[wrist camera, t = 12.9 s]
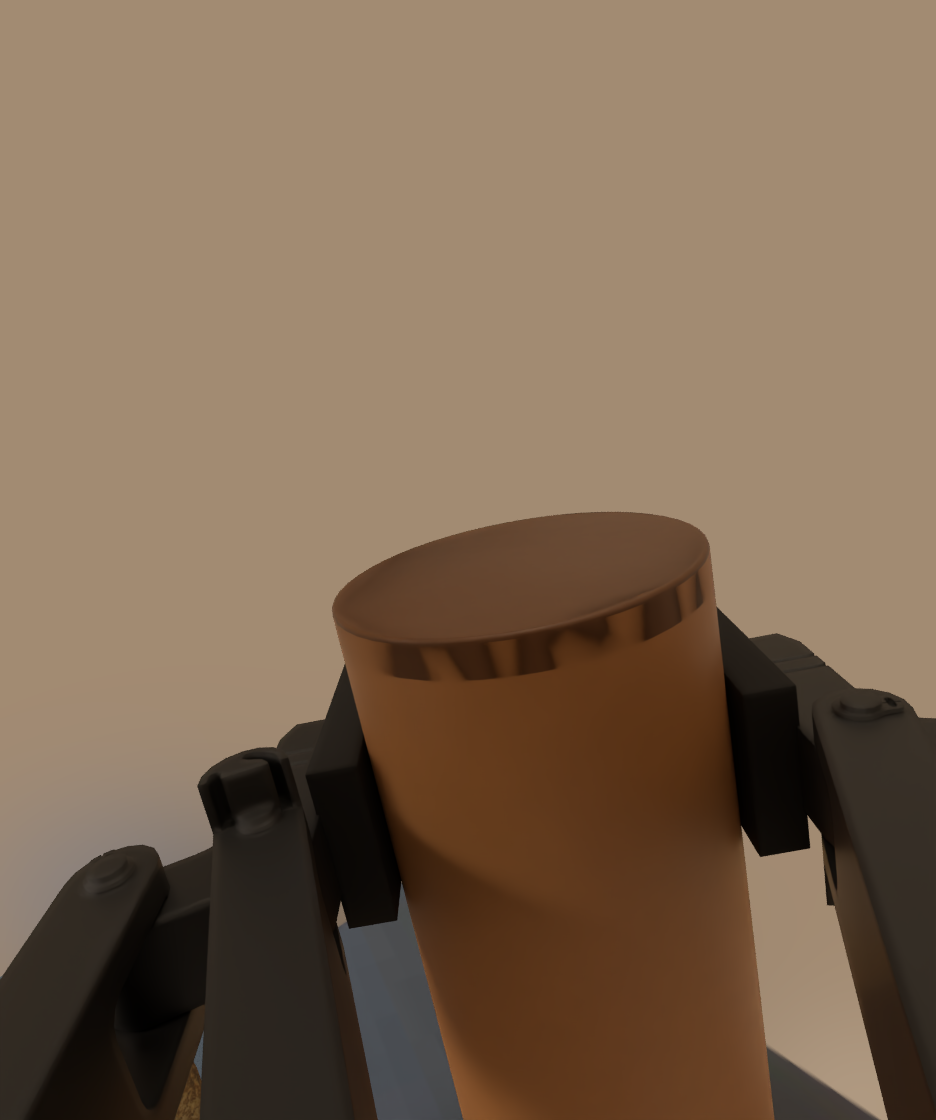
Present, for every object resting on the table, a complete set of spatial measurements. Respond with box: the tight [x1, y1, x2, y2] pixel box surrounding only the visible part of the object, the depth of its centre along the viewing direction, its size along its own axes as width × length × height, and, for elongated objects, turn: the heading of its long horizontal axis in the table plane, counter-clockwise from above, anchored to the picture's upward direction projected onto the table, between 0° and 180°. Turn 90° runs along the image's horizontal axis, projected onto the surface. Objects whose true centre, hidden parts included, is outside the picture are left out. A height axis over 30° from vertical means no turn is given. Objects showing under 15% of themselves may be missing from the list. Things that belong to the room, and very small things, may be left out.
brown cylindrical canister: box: [332, 512, 774, 1120], centre depth 13 cm, size 6×6×12 cm
